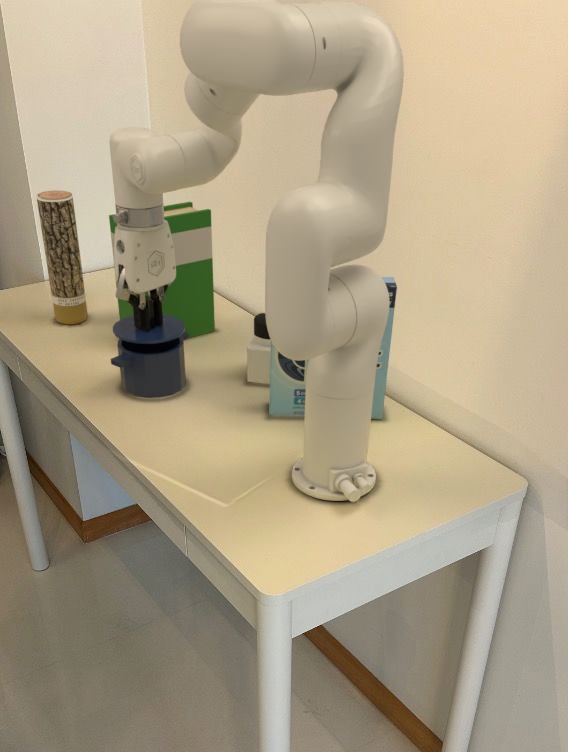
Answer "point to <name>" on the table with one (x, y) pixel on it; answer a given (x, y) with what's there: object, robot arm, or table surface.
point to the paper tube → (62, 256)
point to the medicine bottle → (259, 352)
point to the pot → (152, 367)
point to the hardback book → (186, 269)
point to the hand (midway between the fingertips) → (149, 325)
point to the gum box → (292, 373)
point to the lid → (156, 334)
